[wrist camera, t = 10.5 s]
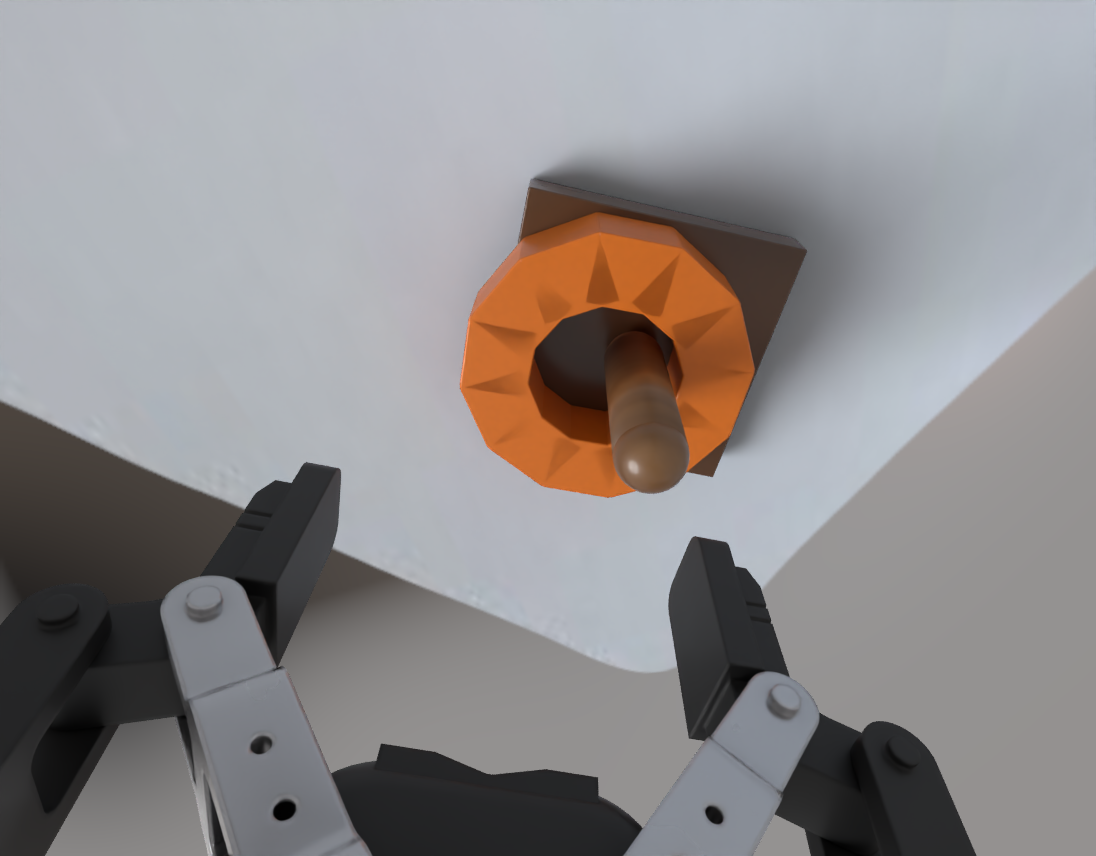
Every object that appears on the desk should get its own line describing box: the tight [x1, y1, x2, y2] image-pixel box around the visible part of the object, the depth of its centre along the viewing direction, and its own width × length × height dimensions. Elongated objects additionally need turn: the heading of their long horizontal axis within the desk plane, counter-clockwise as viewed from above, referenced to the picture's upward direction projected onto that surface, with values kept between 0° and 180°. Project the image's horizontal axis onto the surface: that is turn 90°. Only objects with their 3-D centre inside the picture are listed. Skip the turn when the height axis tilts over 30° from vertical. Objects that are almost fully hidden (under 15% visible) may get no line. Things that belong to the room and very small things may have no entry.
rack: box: [518, 179, 807, 494], centre depth 23 cm, size 10×10×10 cm
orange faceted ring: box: [460, 212, 755, 498], centre depth 25 cm, size 10×10×3 cm
